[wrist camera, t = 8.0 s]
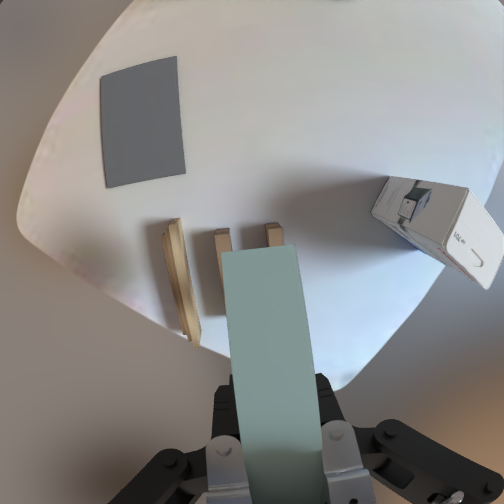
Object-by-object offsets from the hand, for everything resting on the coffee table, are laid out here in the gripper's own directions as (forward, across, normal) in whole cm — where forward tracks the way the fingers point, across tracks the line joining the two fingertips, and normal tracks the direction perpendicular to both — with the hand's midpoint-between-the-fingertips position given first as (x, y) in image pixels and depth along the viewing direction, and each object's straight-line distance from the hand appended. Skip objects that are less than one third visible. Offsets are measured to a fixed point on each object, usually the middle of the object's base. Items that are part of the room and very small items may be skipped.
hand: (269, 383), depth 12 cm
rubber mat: (+15, +9, -16) cm, 24 cm away
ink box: (+16, -17, -4) cm, 23 cm away
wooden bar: (+16, +7, 0) cm, 17 cm away
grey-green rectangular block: (+2, 0, -5) cm, 5 cm away
